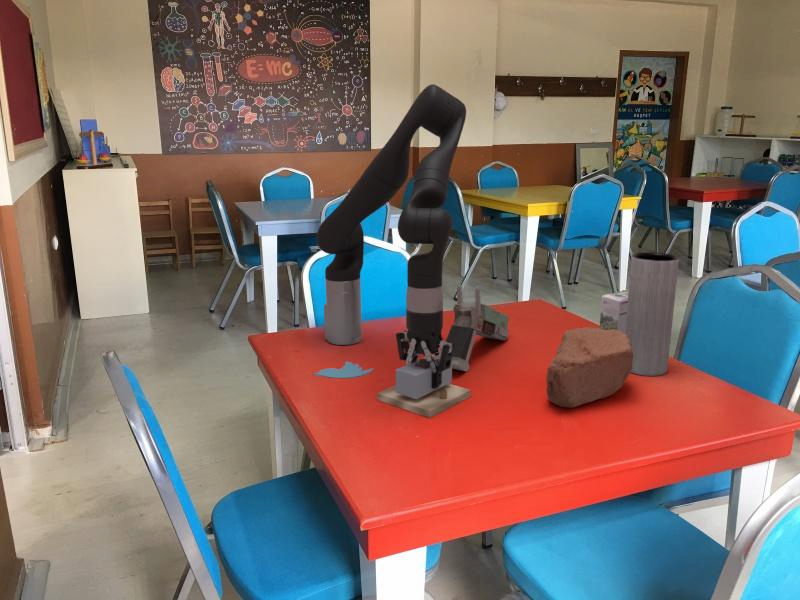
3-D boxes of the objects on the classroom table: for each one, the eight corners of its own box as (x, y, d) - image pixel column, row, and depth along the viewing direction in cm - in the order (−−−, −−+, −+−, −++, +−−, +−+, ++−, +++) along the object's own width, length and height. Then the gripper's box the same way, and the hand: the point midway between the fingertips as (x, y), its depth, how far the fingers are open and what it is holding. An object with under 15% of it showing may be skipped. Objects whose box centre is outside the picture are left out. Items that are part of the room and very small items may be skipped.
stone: (511, 397, 135) (535, 335, 128) (559, 359, 155) (582, 304, 149) (583, 439, 128) (612, 376, 121) (623, 393, 148) (650, 337, 141)
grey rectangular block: (431, 376, 144) (431, 354, 142) (451, 382, 140) (452, 360, 139) (395, 392, 135) (395, 369, 134) (416, 399, 131) (416, 376, 130)
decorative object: (377, 371, 155) (346, 362, 161) (377, 368, 155) (346, 360, 161) (342, 386, 146) (310, 376, 152) (341, 383, 146) (310, 374, 152)
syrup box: (630, 351, 167) (635, 296, 163) (615, 356, 163) (619, 299, 160) (611, 345, 171) (616, 291, 167) (596, 349, 168) (600, 295, 164)
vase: (617, 361, 160) (627, 251, 153) (660, 362, 159) (671, 252, 152) (627, 375, 150) (637, 260, 143) (672, 377, 149) (685, 260, 142)
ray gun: (433, 365, 150) (447, 280, 151) (477, 373, 178) (489, 301, 180) (462, 370, 146) (476, 283, 148) (502, 377, 175) (514, 304, 177)
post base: (377, 399, 138) (376, 361, 135) (419, 380, 148) (419, 345, 146) (429, 418, 129) (430, 377, 127) (470, 396, 139) (471, 358, 137)
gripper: (464, 308, 131) (462, 387, 136) (409, 297, 140) (409, 371, 145) (441, 316, 126) (440, 398, 130) (386, 304, 135) (386, 381, 139)
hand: (424, 383), depth 137 cm, fingers closed on grey rectangular block, 5 cm apart
